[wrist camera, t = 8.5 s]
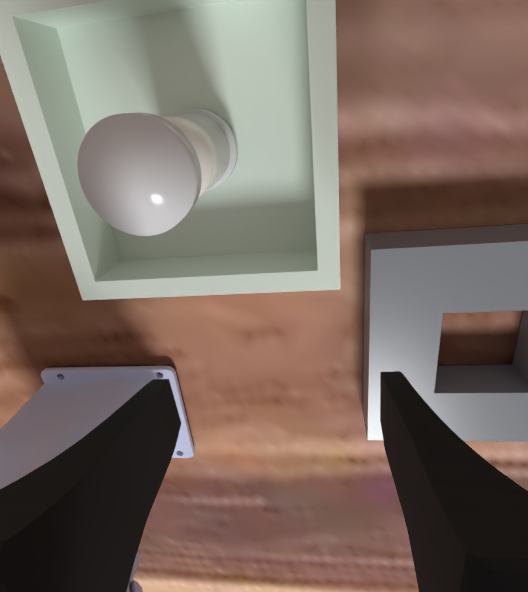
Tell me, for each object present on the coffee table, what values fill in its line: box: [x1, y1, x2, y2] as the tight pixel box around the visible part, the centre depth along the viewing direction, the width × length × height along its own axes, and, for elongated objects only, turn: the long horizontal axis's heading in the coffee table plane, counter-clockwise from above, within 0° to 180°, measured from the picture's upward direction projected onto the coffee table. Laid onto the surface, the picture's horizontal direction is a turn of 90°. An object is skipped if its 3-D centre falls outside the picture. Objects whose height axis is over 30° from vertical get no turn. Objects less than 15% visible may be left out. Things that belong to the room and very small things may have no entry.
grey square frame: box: [363, 224, 528, 442], centre depth 21 cm, size 12×12×2 cm
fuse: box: [77, 109, 238, 236], centre depth 15 cm, size 4×4×8 cm
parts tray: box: [0, 0, 340, 300], centre depth 18 cm, size 13×13×4 cm
